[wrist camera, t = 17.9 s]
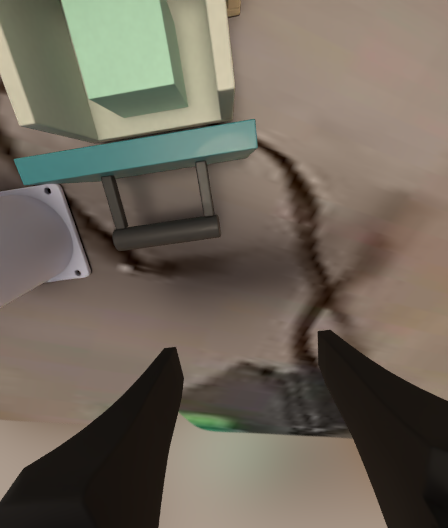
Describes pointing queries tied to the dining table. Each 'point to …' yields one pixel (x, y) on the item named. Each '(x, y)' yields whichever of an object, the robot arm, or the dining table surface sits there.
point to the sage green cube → (127, 54)
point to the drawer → (116, 127)
